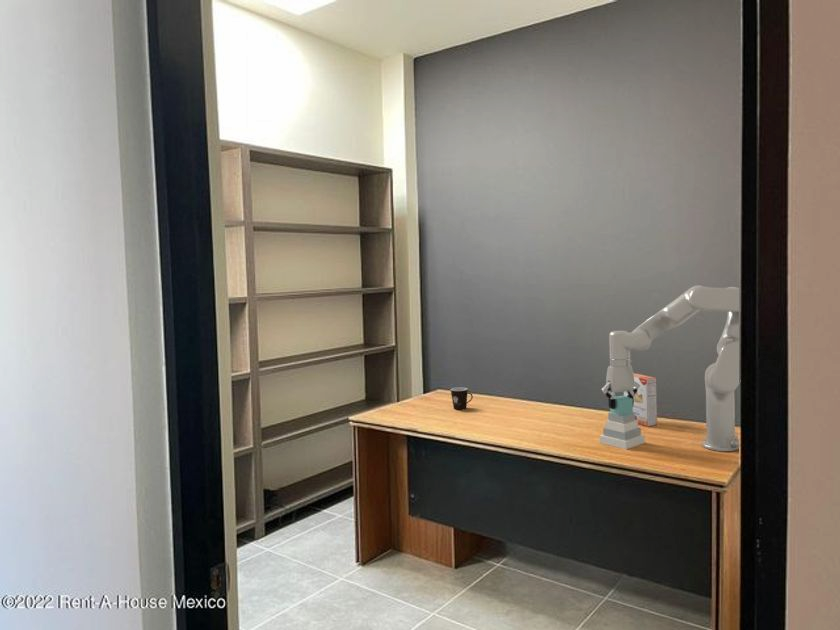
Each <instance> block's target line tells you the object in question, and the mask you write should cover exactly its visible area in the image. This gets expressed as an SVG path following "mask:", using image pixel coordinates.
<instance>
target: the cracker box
mask: <svg viewBox="0 0 840 630" xmlns="http://www.w3.org/2000/svg"><path fill="white" fill-rule="evenodd" d="M633 374H634V381H635V382H636V383H638V384H639V385H640V387H639V389H638V390H637V392H636V394H635V396H634V404H633V413H635V420H638V425H641V426H644V427H646V428H649V427H654V426H656V425H657V426H658V404H657V403H658V402H657V400H658V399H657V398H658V397H657V393H658V392H657V378H656V376H655V377H653V376H650V375H649V376H648V375H644V374H640V373H635V372H633ZM627 395H628V393H627V391H626V392H623V396H626V397H627Z"/></svg>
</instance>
